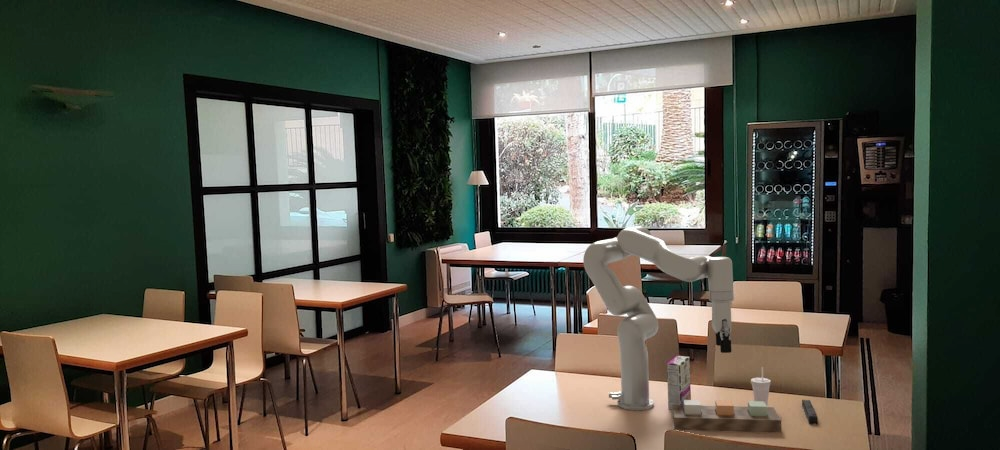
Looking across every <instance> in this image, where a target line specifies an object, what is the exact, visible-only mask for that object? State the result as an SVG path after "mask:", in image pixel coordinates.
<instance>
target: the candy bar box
mask: <svg viewBox="0 0 1000 450" xmlns="http://www.w3.org/2000/svg"><path fill="white" fill-rule="evenodd" d="M690 360H691V359H690V356H685V355H675V356H674V357H673V358H672V359H671V360H670V361H668V362H667V363H666V372H667V373H666V375H667V379H666V380H667V404H668V406H667V407H668V408H667V409H668V410H669V411H672V405H684V400H692V396H691V395H692V394H691V393H692V392H691V367H690V365H691V364H690V362H691V361H690Z"/></svg>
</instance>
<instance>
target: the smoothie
mask: <svg viewBox="0 0 1000 450" xmlns="http://www.w3.org/2000/svg"><path fill="white" fill-rule="evenodd" d="M771 381H772V380H771V379H769V378H766V377H764V367H761V377H752V378H751V379H750V384H751V386H752V387H751V388H752V393H753V401H763V402H765V404H766V406H767V407H768V401H769V395H770V386H771V384H772V382H771Z"/></svg>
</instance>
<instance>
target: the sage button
mask: <svg viewBox="0 0 1000 450" xmlns="http://www.w3.org/2000/svg"><path fill="white" fill-rule="evenodd" d="M747 407H748V414H749V416H767V407H768V405H767V406H766V404H765V402H763V401H754V400H748V401H747Z"/></svg>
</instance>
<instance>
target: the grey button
mask: <svg viewBox="0 0 1000 450" xmlns="http://www.w3.org/2000/svg"><path fill="white" fill-rule="evenodd" d="M701 406H702V404H701V401H700V399H691V400H684V414H693V415H701Z"/></svg>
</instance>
